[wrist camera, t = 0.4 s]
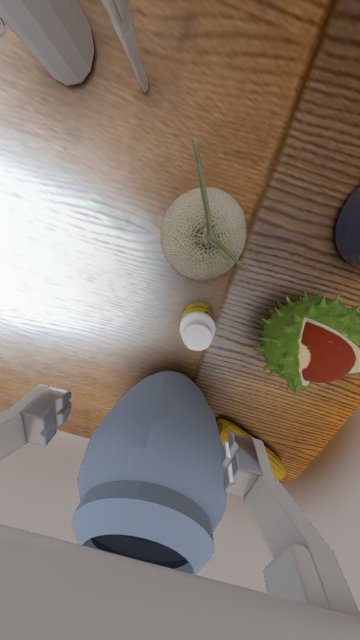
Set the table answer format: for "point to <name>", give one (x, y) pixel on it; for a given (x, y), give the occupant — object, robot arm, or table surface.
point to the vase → (154, 477)
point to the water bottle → (52, 35)
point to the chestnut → (311, 341)
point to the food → (228, 427)
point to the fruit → (203, 231)
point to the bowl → (349, 230)
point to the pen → (127, 36)
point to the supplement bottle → (197, 326)
